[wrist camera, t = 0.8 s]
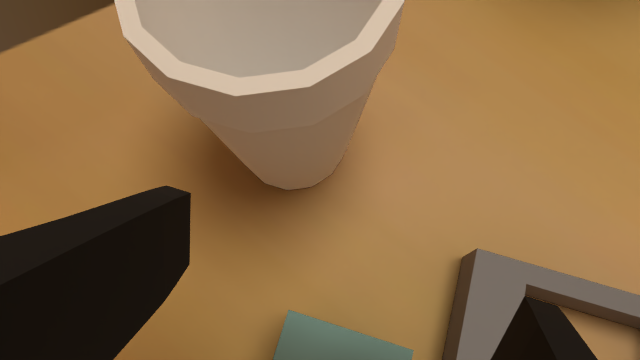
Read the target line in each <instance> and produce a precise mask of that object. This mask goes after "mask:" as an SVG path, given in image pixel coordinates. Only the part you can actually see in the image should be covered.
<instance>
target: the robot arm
mask: <svg viewBox="0 0 640 360" xmlns="http://www.w3.org/2000/svg"><path fill="white" fill-rule="evenodd" d="M190 198H191V193H189V192H186V191H182V190H179V189H176V188H173V187H169V186H163V187H159V188H155V189H151V190H148V191H145V192H141V193H138V194H135V195H132V196H129V197H126V198H123V199H120V200H117V201H114V202H111V203H108V204H105V205H102V206H99V207H96V208H92V209H89V210H86V211H83V212H80V213H77V214H74V215H71V216H68V217H65V218H61V219H58V220H55V221H51V222H48V223H44V224H41V225H38V226H34V227H31V228H27V229H24V230H20V231H17V232H14V233H10V234H7V235H3V236H0V360H113V359H114V358H115V357H116V356H117V355H118V353H119V352H120V351H121V350H122V349H123V348H124V347H125V346H126V344H127V343H128V342H129V341H130V340H131V339H132V338H133V337H134V335H135V334H136V333H137V332H138V331H139V330H140V329H141V328H142V326H143V325H144V324H145V323H146V322H147V321H148V320H149V318H150V317H151V316H152V315H153V314H154V313H155V312H156V310H157V309H158V308H159V307H160V306H161V305H162V303H163V302H164V301H165V300H166V298H167V297H168V295H169V294H170V293H171V291H172V290H173V288H174V287H175V285H176V284H177V282H178V281H179V279H180V278H181V276H182V275H183V273H184V272H185V270H186V269H187V267H188V266H189V260H190ZM491 360H598V359H597V358H596V357H595V355H594V354H593V353H592V351H591V350H590V349H589V347H588V346H587V344H586V343H585V342H584V340H583V339H582V338H581V336H580V335H579V334H578V332H577V331H576V329H575V328H574V327H573V325H572V324H571V323H570V321H569V320H568V319H567V317H566V316H565V315H564V314H563V312H562V311H561V310H560V309H559V307H558V306H555V305H552V304H549V303H546V302H542V301H539V300H536V299H533V298H529V297H526V296H524V298H523V300H522V302H521V303H520V305H519V307H518V309H517V311H516V313H515V315H514V317H513V319H512V320H511V322H510V324H509V326H508V328H507V330H506V332H505V334H504V335H503V337H502V339H501V341H500V343H499V345H498V347H497V349H496V350H495V352H494V354H493V356H492V358H491Z"/></svg>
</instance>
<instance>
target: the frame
mask: <svg viewBox="0 0 640 360" xmlns="http://www.w3.org/2000/svg"><path fill="white" fill-rule="evenodd" d="M525 295H527V296H530V297H534V298H537V299H540V300H544V301H547V302H550V303H554V304H557V305H561V306H564V307H567V308H571V309H574V310H577V311H581V312H584V313H587V314H591V315H594V316H597V317H601V318H604V319H607V320H611V321H614V322H617V323H621V324H624V325H627V326H631V327H634V328H637V329H640V295H636V294H633V293H629V292H626V291H622V290H619V289H616V288H612V287H609V286H605V285H602V284H598V283H595V282H591V281H588V280H585V279H581V278H578V277H574V276H571V275H567V274H564V273H560V272H557V271H553V270H550V269H547V268H543V267H540V266H536V265H533V264H529V263H526V262H522V261H519V260H515V259H512V258H509V257H505V256H502V255H498V254H495V253H491V252H488V251H484V250H481V249H478V248H477V249H475V250H474V251H472V252H470V253H469V254H467V255H465V256H464V257H463V258H462V263H461V268H460V273H459V278H458V283H457V288H456V293H455V298H454V303H453V308H452V313H451V318H450V323H449V328H448V333H447V338H446V343H445V348H444V353H443V358H442V360H491V358H492V356H493V354H494V352H495V350H496V349H497V347H498V345H499V343H500V341H501V339H502V337H503V335H504V334H505V332H506V330H507V328H508V326H509V324H510V322H511V320H512V319H513V317H514V315H515V313H516V311H517V309H518V307H519V305H520V303H521V302H522V300H523V298H524V296H525Z"/></svg>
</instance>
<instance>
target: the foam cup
mask: <svg viewBox="0 0 640 360" xmlns="http://www.w3.org/2000/svg"><path fill="white" fill-rule="evenodd" d="M114 1H115V5H116V8H117V12H118V16H119V20H120V24H121V28H122V32H123V36H124V37H125V39H126V40H127V42H128V43H129V45H130V46H131V47H132V49H133V50H134V52H135V53H136V55H137V56H138V57H139V59H140V60H141V62H142V63H143V65H144V66H145V68H146V69H147V70H148V72H149V73H150V75H151V76H152V78H153V79H154V80H155V81H156V82H157V83H158V84H159V85H160V86H161V87H162V88H163V89H164V90H165V91H166V92H168V93H169V94H170V95H171V96H172V97H173V98H174V99H175V100H176V101H177V102H178V103H179V104H180V105H181V106H182V107H183V108H184V109H186V110H187V111H188V112H189V113H190V114H191V115H192V116H194V117H197V118H200V119H201V120H202V121H203V122H204V123H205V124H206V126H207V127H208V128H209V129H210V130H211V131H212V132H213V133H214V134H215V135H216V136H217V137H218V138H219V139H220V140H221V141H222V142H223V143H224V144H225V145H226V146H227V147H228V148H229V149H230V150H231V151H232V152H233V153H234V154H235V155H236V156H237V157H238V158H239V159H240V160H241V161H242V162H243V163H244V164H245V165H246V166H247V167H248V168H249V169H250V170H251V171H252V172H253V173H254V174H255V175H256V176H257V177H258V178H259V179H261V180H262V181H263V182H264V183H265V184H269V185H272V186H275V187H278V188H282V189H285V190H293V189H300V188H308V187H312V186H314V185H316V184H317V183H319V182H320V181H322V180H324V179H325V178H327V177H328V176H330V175H332V173H333V172H334V170H335V168H336V167H337V165H338V164H339V162H340V161H341V159H342V157H343V156H344V153H345V152H346V150H347V147H348V145H349V142H350V140H351V138H352V135H353V133H354V130H355V128H356V125H357V123H358V121H359V118H360V116H361V113H362V111H363V109H364V106H365V104H366V101H367V99H368V97H369V94H370V92H371V89H372V87H373V84H374V82H375V80H376V77H377V75H378V73H379V72H380V70H381V69H382V67H383V66H384V64H385V62H386V61H387V59H388V58H389V56H390V55H391V53H392V52H393V50H394V47H395V43H396V38H397V33H398V29H399V24H400V19H401V15H402V10H403V6H404V1H405V0H114Z"/></svg>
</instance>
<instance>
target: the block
mask: <svg viewBox="0 0 640 360" xmlns="http://www.w3.org/2000/svg"><path fill="white" fill-rule="evenodd" d="M413 351H414V350H411V349H408V348H405V347H402V346H399V345H395V344H392V343H389V342H386V341H383V340H380V339H377V338H374V337H371V336H368V335H365V334H362V333H359V332H356V331H352V330H349V329H346V328H343V327H340V326H337V325H334V324H331V323H328V322H325V321H322V320H319V319H316V318H312V317H309V316H306V315H303V314H300V313H297V312H294V311H291V310H288V314H287V317H286V320H285V323H284V326H283V329H282V332H281V335H280V339H279V342H278V345H277V348H276V351H275V354H274V357H273V360H412V355H413Z"/></svg>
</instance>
